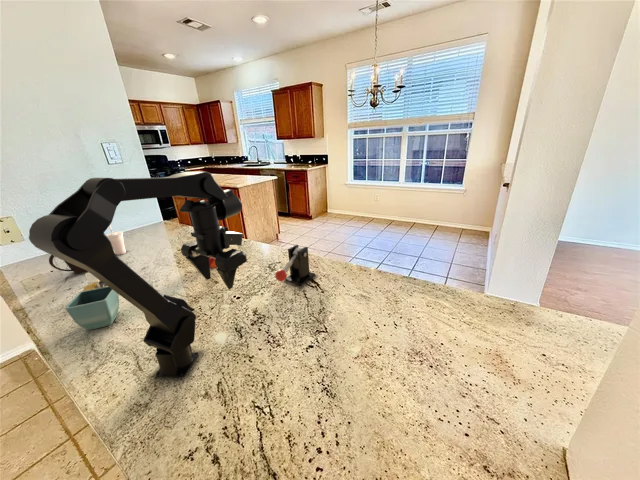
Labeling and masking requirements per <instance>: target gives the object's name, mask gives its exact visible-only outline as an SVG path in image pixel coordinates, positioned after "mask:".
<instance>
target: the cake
mask: <svg viewBox="0 0 640 480" xmlns="http://www.w3.org/2000/svg"><path fill="white" fill-rule="evenodd" d="M149 266H150V265H149V264H148V267H149ZM84 275H85V278H86V281H87V285H85V286H83V289H82V292H83V291H88V290H93V289H98V288H103V287H108V286H107V285H106V284H104V283H103V282H102V281H100V280H99V279H97V278H96V277H95V276H93V275H92V274H91V273H89V272H86V273H84Z"/></svg>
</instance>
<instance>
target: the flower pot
mask: <svg viewBox="0 0 640 480" xmlns="http://www.w3.org/2000/svg"><path fill="white" fill-rule="evenodd" d="M64 309H65V311H66V312H67V313H68V315H69V316H70V318H71V319H72V320H73V321H74V323H75V324H77V325H78V326H79V327H81V328H83V329H85V330H89V331H91V330H96V329H100V328H104V327H109V326H111V325H113V323H114V321H115V319H116V317H117V316H118V313H119V309H120V297H119V294H118V293H116V292H115V291H114V290H112V289H111V288H110V287H103V288H98V289H93V290H88V291H83V290H82V291H80V292H79V293H77V295H76V296H74V297H73V299H72V300H71V301H70V302H69V303H68V304H67V306H65V308H64Z"/></svg>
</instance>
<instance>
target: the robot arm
mask: <svg viewBox="0 0 640 480" xmlns="http://www.w3.org/2000/svg"><path fill="white" fill-rule="evenodd" d="M167 197H168V198H169V197H170V198H171V197H179V198H191V199H185V200H184V203H183V204H182V205H181V207H180V208H179V212H181V213H189V216H190V220H191V224H192V228H193V231H191V232H190V235H191V237H193V238H195V239H194V240H191V241H189V242H186V243H183V244H182V245H181V248H180V251H181V256H183V257H185V259H186V260H187V261H188V262H190V264H191V265H192V266H193V267H194V268H195V269H196V270H197V271H198V272H199V273H200V274H201V276H202V277H203V278H204V279H205V280H207V281H209V280H210V279H211V277H212V274H211V268H210V265H209V257H210V256H211V257H214V258H216V259H215V265H216V266H217V267H216V271H217V273H218V275H219V277H220V278H221V280H222V281H223V283H224V285H225V286H226V288H227V289H228V290H231V289H233V287H234V283H235V277H236V273H237V270H238V268H239V267H240V266H242V265H244V264H245V263H247V262H248V258H247V253H246V252H245V251H242V250H240V249H236V248H231V246H239V247H240V246H242V245H243V237H244V236H243V235H244V233H242V232H238V231H232V230H229V228H228V227H227V226H222V225H220V221H224V220H226V219H229V218H231V217H235V216H236V215H238V214H240V213H241V212H242V210H243V204H242V201H241V200H240V197H238V196H237V195H236V194H235V193H234V190H233V189H224V190H223V188H222V187H221V186H220V185H219V183H218V182H217V181H216V180H215V178H214V176H213V175H212V173H211V172H208V171H183V172H178V173H174V174H171V175H169V176H165V177H133V178H127V177H125V178H113V177H91V178H89V179H87V180H86V181H84V183H83V184H82V185H81V186H80V187H78V189H77V190H76V191H75V192H73V193H72V194H71V195H70V196H68V197H67V198H65V199H64V200H63V201H61V202H60V203H58V204H57V205H56V206H55V207H54V208H53V209H52V211H50V213H48V215H43V216H41V217H38V218H37V219H35V221H34V222H33V223H32V224H31V226H30V227H29V231H28V239H29V241H30V243H31V244H32V245H33V246H34V247H35V248H36V249H38V250H40V251H42V252H45V253H46V254H49V255H50V256H51V255H53V256H54V258H57V259H59V260H61V261H64V262H65V261H66V262H68V263H71V264H73V265H76V266H78V267H80V268H83V269H85V270H87V271H88V272H87V273H91V274H92V275H93V276H95V277H96V278H97V279H98V280H100V281H102V282H103V283H104V284H106V285H107V286H108V287H110V288H111V289H112V290H114V291H115V292H116V293H118V296H120V297H122V298H123V299H124V300H126V301H127V302H128V303H130V304H131V305H133V306H134V307H135V308H137V309H138V310H140V311H141V312H142V313H143V314H144V317H145V321H146V322H147V323H148V324H149V327H148V329H147V331H146V333H145V336H144V338H143V340H142V341H143V343H144V344H146V345H147V346H148V347H153V348H154V349H156V352H155V354H154V355H155V357H156V360H157V363H158V366H159V369H158V370H157V371H156V372H155V377H158V378H184V377H186V375H188V372H189V371H190V370H191V368H192V367H193V365H194V364H195V362H196V360H197V359H198V358H199V355H200V353H199V352H196V351H193V349H192V345H191V344H193V343H194V342H195V335H196V320H197V314H195V312H194V311H196V308H193V307H191V306H190V305H189V304H188V302H187V301H186V300H185V299H183V298H179V297H175V296H171V295H167V294H161V293H160V292H159V291H158V290H157V289H156V288H154V287H153V286H152V285H151V284H150V283H148V281H146V279H144V278H143V277H141V276H140V275H139V274H138V273H137V272H136V271H135V270H134V269H132V267H131V266H129V265H128V264H127V263H126V262H124V261H123V260H122V259H121V258H120V257H118V255H116V253H115V251H114V249H113V247H112V244H111V242H110V240H109V239H108V237H107V236H106V235H107V234H106V231H107V229H108V228H110V227H109V225H111V224H112V223H113V220H114V217H115V214H116V210H117V207H118V206H119V205H120V203H121V202H126V201H137V200H146V199H158V198H167ZM192 199H198V200H196V201H194V200H192ZM229 248H231V249H229ZM227 249H228V250H227ZM224 250H225V251H224ZM226 250H227V251H226Z"/></svg>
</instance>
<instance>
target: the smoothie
mask: <svg viewBox="0 0 640 480" xmlns="http://www.w3.org/2000/svg"><path fill="white" fill-rule="evenodd" d="M108 228H109V230H110V232H109V233H107V234H105V235H106V236H107V237H108V239H109V240H110V242H111V244H112V247H113V250H114V253H115V254H116V256H119V255H124V254H126V253H127V251H126V246H125V241H124V236H123V235H124V232H123V231H113V228H112V226H111V224H110V225H109V227H108Z"/></svg>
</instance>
